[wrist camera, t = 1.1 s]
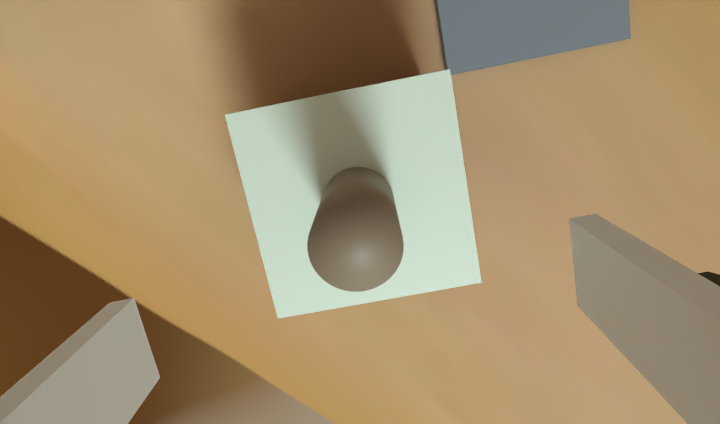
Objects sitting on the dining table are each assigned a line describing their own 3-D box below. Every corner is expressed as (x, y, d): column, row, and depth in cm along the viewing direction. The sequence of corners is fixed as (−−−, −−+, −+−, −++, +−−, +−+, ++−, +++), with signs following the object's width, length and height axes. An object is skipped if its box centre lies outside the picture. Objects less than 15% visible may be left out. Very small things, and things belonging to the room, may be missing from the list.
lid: (230, 113, 26) (172, 130, 18) (446, 69, 25) (482, 67, 18) (281, 308, 29) (249, 397, 21) (476, 274, 28) (519, 352, 20)
